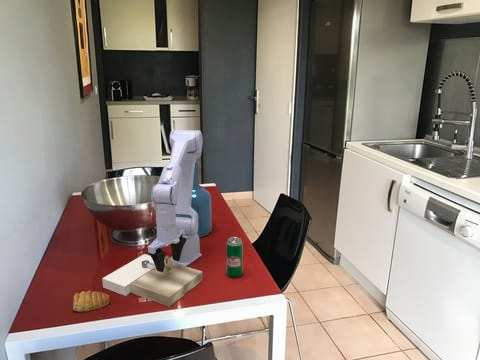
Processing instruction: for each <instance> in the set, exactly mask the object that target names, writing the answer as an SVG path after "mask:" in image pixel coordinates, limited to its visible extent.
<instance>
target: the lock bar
mask: <svg viewBox="0 0 480 360" xmlns="http://www.w3.org/2000/svg"><path fill="white" fill-rule="evenodd" d="M171 257H172V255H166V256H165V267H164V271H163V272H164V273H167V274H171V273H172V269H171ZM142 267H148V268H151V269H154V270H157V269H156V267H155V264H154V263H151V262H149V261H148V260H144V261H142Z"/></svg>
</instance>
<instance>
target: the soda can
mask: <svg viewBox="0 0 480 360" xmlns="http://www.w3.org/2000/svg"><path fill="white" fill-rule="evenodd" d="M243 244H244V243H243V241H242V238H241V237H239V236H238V237H237V236H230V237H228V238H227V241H226V243H225V246H226V247H225V248H226V250H225V252H226V253H225V254H226V255H225V257H226V260H225V261H226V264H225V266H226V275H227V276H228V277H230V278H234V279H236V278H240V277H241V276H242V275H243V254H244V253H243V252H244V250H243V248H244V247H243V246H244V245H243Z"/></svg>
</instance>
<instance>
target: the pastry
mask: <svg viewBox="0 0 480 360" xmlns="http://www.w3.org/2000/svg"><path fill="white" fill-rule="evenodd" d="M109 303H110V294H107V293H105V292H102V291H97V290H96V291H91V290H88V291H84V290H83V291H81V292H80V293H78V292H76V293H75V294H74V296H73V305H72V309H73V311H75V312H77V313H78V312H79V313H83V312H91V311H95V310H97V309H98V310H99V309H102V308H104V307H105V306H108V305H109Z"/></svg>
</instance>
